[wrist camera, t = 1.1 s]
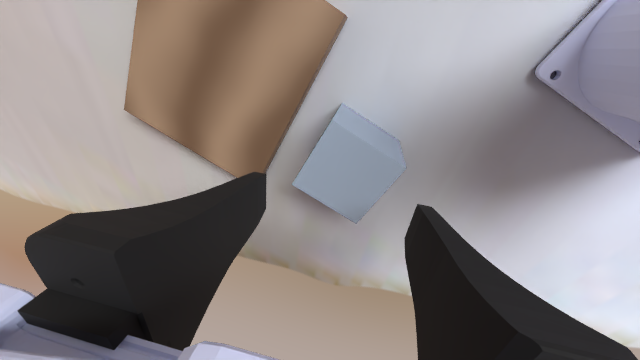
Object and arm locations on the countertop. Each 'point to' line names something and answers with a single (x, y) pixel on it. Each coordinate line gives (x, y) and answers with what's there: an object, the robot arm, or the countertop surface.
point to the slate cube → (351, 165)
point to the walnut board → (227, 72)
